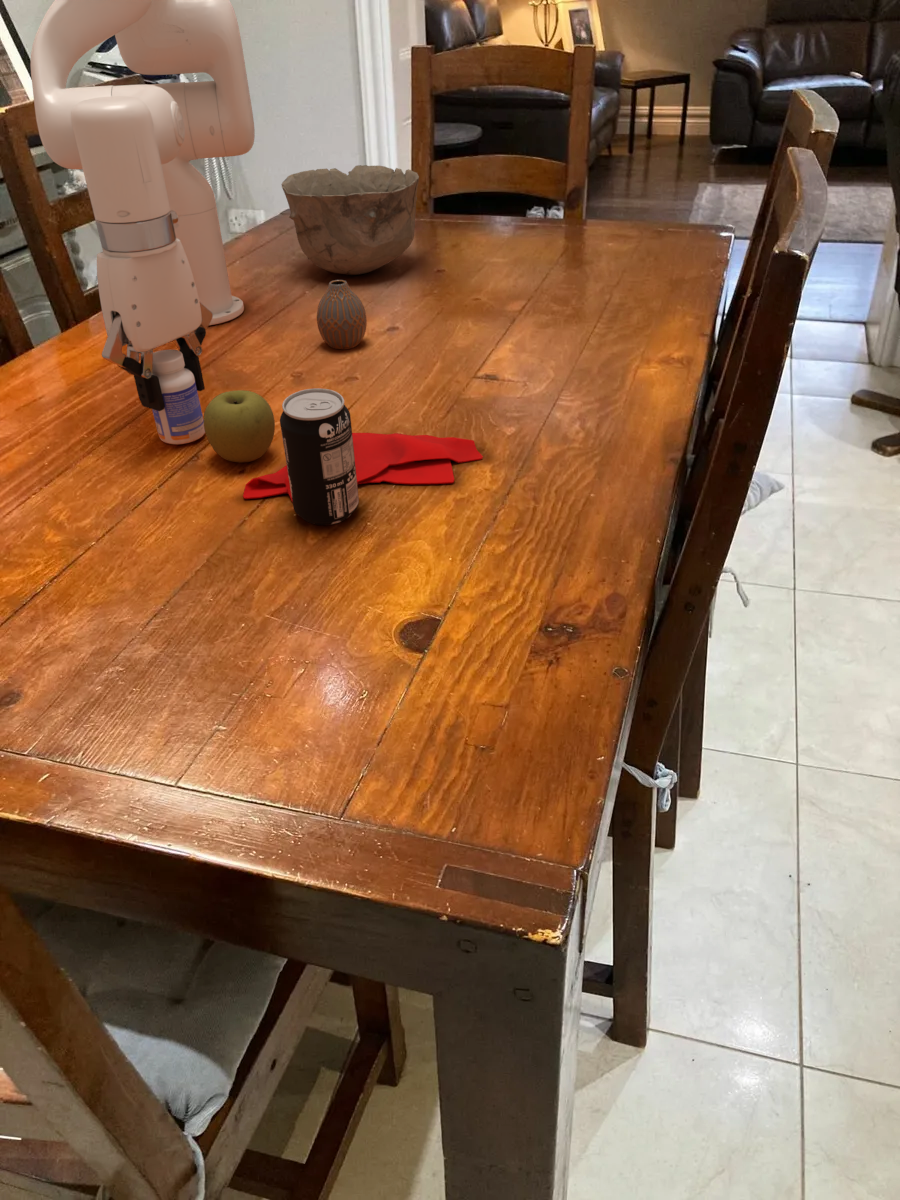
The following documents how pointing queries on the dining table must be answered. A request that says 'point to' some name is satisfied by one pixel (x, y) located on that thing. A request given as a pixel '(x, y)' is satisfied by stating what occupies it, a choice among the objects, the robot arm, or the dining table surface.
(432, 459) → the cloth
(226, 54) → the robot arm
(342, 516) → the beverage can
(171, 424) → the pill bottle
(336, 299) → the vase
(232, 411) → the apple
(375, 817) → the dining table surface
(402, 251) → the bowl
